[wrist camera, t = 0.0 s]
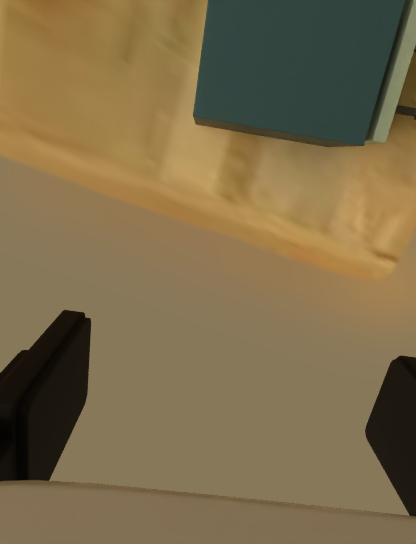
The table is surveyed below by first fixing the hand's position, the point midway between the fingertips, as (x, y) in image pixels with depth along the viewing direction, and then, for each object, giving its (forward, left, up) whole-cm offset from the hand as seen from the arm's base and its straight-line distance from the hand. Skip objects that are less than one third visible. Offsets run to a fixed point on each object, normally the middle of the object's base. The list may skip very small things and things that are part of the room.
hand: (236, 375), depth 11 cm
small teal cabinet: (-15, +4, -31) cm, 35 cm away
